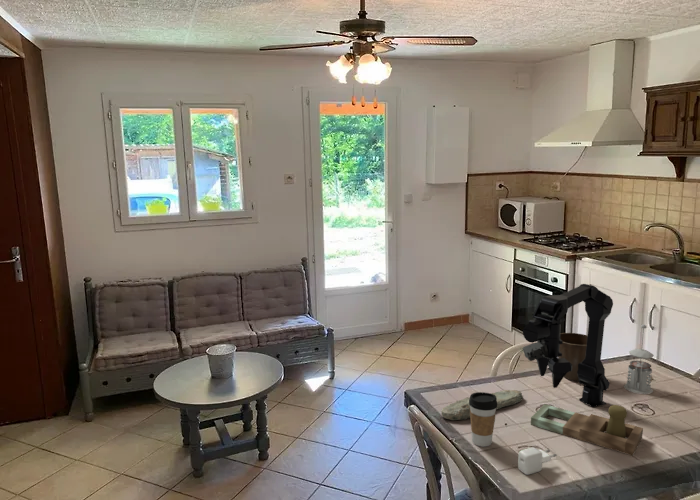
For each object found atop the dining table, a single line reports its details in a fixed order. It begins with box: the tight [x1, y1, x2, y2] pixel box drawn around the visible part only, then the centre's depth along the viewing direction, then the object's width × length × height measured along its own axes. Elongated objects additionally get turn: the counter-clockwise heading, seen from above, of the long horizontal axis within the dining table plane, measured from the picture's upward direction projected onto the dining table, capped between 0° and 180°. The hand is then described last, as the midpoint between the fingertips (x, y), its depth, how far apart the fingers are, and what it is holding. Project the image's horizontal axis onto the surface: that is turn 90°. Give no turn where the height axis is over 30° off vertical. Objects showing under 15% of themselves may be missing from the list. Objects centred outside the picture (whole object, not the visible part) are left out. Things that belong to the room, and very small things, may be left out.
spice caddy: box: [530, 403, 644, 456], centre depth 174 cm, size 30×12×4 cm, turn 51°
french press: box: [623, 324, 654, 395], centre depth 202 cm, size 10×12×25 cm
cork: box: [605, 404, 628, 439], centre depth 167 cm, size 6×6×11 cm
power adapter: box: [517, 446, 557, 476], centre depth 154 cm, size 11×5×6 cm, turn 114°
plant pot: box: [558, 332, 588, 382], centre depth 215 cm, size 15×15×16 cm
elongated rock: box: [440, 389, 524, 421], centre depth 190 cm, size 35×5×10 cm
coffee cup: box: [469, 391, 497, 447], centre depth 167 cm, size 8×8×15 cm
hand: (548, 381), depth 178 cm, fingers open, 9 cm apart
